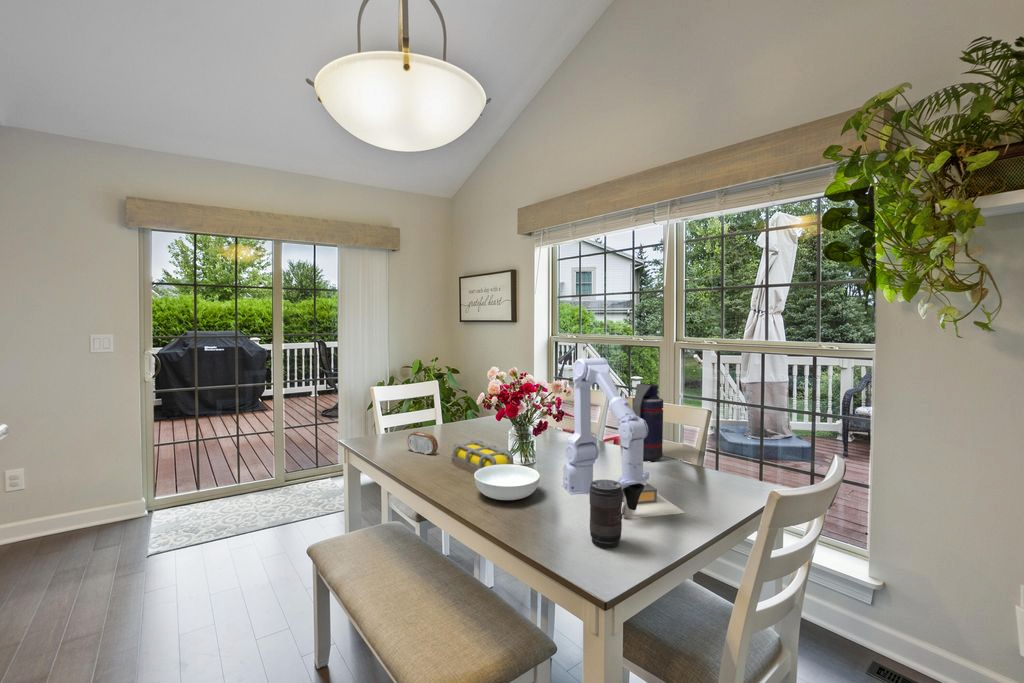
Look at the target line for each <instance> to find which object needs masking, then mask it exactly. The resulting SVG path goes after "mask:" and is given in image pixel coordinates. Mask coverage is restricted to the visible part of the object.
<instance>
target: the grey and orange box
mask: <svg viewBox="0 0 1024 683" xmlns="http://www.w3.org/2000/svg"><path fill="white" fill-rule="evenodd" d="M640 484H641V483H640ZM643 485H644V489H643V491H642V492H641V495H640V497H639V500H638V504H644V503H654V502H657V494H658V489H657V488H655V487H654V486H653V485H651V484H650V483H648V482H646V483H644V484H643ZM624 498H625V494H624V492H623V490H622V502H623V503H624Z"/></svg>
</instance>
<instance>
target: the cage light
mask: <svg viewBox="0 0 1024 683" xmlns="http://www.w3.org/2000/svg"><path fill="white" fill-rule="evenodd" d="M452 464H453V465H454V466H456V467H458V468H460V469H459V470H461V469H462V470H461V471H463V470H465V471H467V472H469V473H471V474H473V475H474V474H475V472H476V471H477V470H479V469H481V468H484V467H487V466H492V465H502V464H511V465H515V463H514V457H513V454H512V453H511V451H510V450H508V449H507V450H506V449H505V450H503V449H500V448H498V447H497V446H496V445H494V444H492V445H489V444H486V443H484V441H483V440H475V439H472V440H470V442H466V443H459V442H456V443H454V445H453V449H452V453H451V465H452ZM453 465H452V466H453ZM454 466H453V467H454ZM456 467H455V468H456ZM458 468H457V469H458ZM465 471H464V472H465ZM467 472H466V473H467ZM469 473H468V474H469ZM471 474H470V475H471ZM473 475H472V476H473Z"/></svg>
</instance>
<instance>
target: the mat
mask: <svg viewBox="0 0 1024 683" xmlns="http://www.w3.org/2000/svg"><path fill="white" fill-rule="evenodd" d="M622 504H624V503H622ZM622 507H623V505H622ZM621 513H622V509H621ZM677 514H680V515H681V514H686V512H685V511H684V510H682V509H681V508H680V507H678V506H676V505H675V504H673V503H672V502H671V501H669V500H668V499H666V498H664V497H663V496H661V494H659V493H657V502H654V503H644V504H637V507H636V510H631V509H629V508H628V506H627V511H626V516H625V518H626V519H639V518H641V519H642V518H648V517H649V518H650V517H651V518H652V517H659V516H668V515H677Z"/></svg>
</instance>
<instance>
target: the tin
mask: <svg viewBox="0 0 1024 683" xmlns="http://www.w3.org/2000/svg"><path fill="white" fill-rule="evenodd" d="M407 447H408V448H409V450H410V451H412V450H413V451H417V452H421V453H426V454H431V455H433V454H435V453H437V451H438V448H439V443H438V440H437V438H436V437H435V436H434V434H430V433H425V432H420V431H415V432H412V433H410V434H409V435H408V437H407ZM413 451H412V452H413ZM421 453H420V454H421Z"/></svg>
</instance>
